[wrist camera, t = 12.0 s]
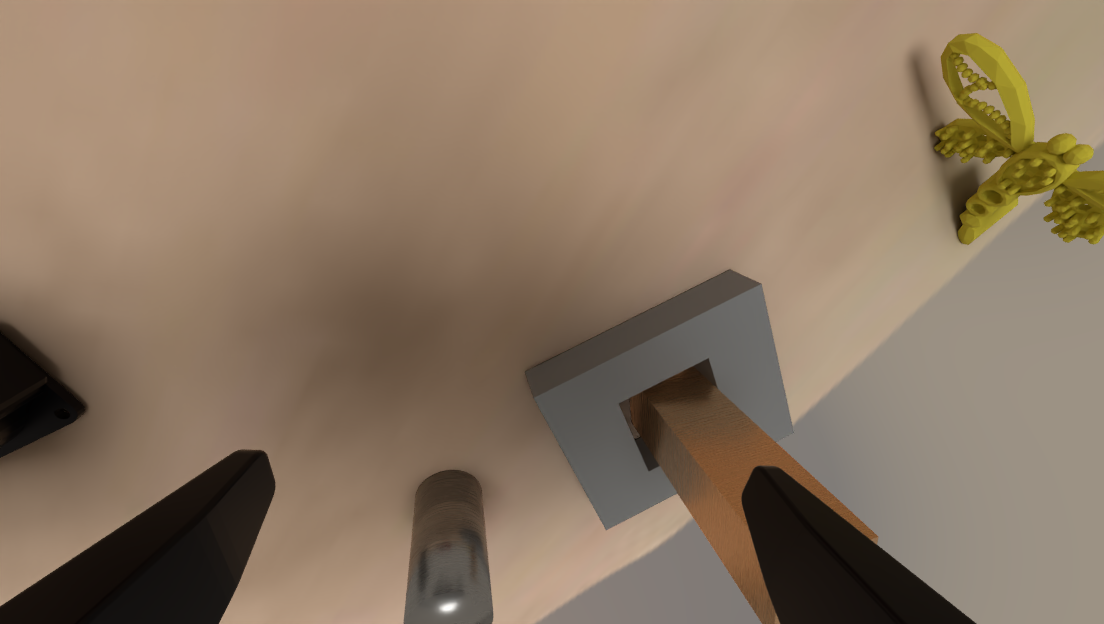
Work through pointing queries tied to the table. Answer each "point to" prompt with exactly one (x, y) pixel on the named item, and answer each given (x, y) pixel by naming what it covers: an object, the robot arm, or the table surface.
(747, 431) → the square bit
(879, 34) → the table surface
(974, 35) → the decorative insect
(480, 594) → the round bit
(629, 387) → the socket plate
